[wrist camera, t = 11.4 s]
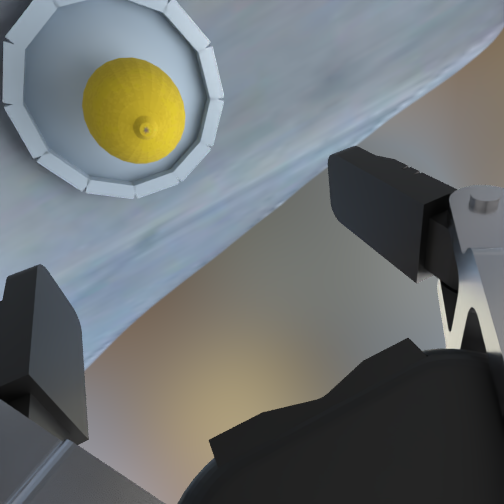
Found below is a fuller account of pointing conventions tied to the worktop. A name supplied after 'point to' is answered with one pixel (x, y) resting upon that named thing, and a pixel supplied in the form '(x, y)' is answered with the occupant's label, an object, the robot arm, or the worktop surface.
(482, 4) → the worktop surface
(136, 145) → the lemon
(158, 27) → the dish
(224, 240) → the worktop surface
